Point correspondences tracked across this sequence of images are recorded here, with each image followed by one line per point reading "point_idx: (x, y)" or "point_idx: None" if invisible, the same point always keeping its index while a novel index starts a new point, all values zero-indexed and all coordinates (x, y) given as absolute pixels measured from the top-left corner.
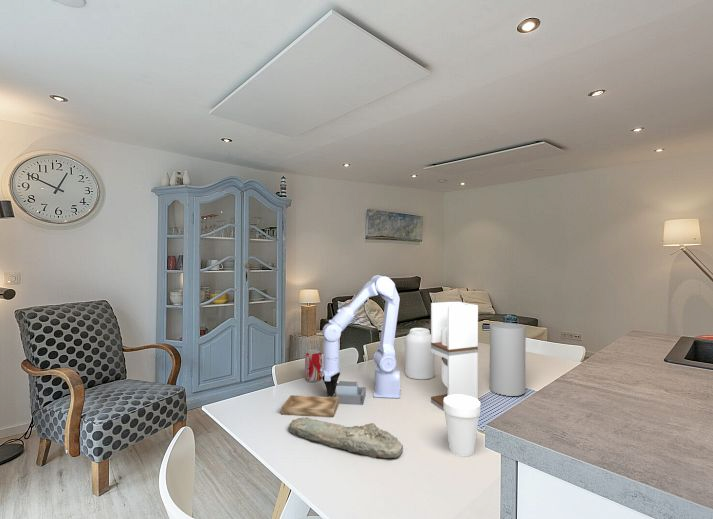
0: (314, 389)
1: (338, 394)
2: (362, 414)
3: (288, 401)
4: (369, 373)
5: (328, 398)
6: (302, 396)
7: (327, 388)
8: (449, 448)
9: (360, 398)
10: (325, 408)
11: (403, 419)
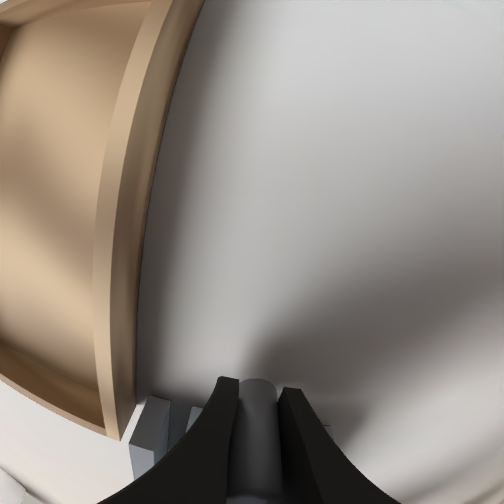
0: (489, 229)
1: (141, 456)
2: (56, 444)
3: None
4: (497, 457)
5: (102, 376)
6: (123, 79)
7: (198, 434)
8: (3, 471)
9: None
10: (39, 315)
11: (71, 494)
